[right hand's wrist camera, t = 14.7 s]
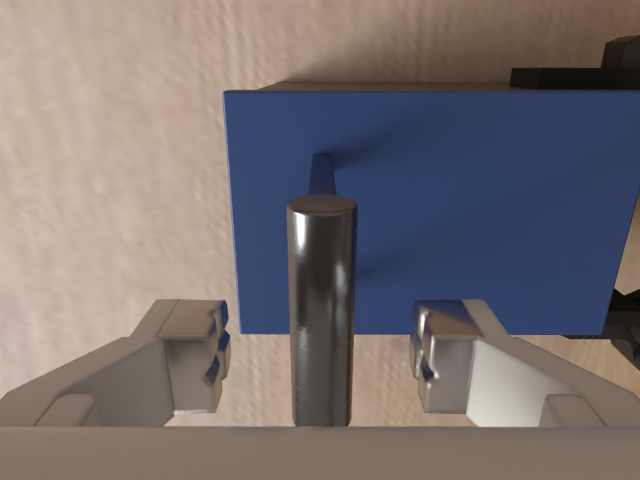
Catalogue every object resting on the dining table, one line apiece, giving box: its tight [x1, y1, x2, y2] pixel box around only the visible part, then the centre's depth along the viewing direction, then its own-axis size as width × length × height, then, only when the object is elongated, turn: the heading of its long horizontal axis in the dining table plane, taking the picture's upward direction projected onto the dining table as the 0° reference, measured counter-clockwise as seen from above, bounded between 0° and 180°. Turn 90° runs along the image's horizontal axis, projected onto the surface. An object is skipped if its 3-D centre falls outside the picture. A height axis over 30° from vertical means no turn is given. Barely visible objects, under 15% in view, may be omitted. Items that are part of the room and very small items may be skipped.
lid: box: [222, 90, 640, 427], centre depth 14 cm, size 15×10×8 cm, turn 90°
